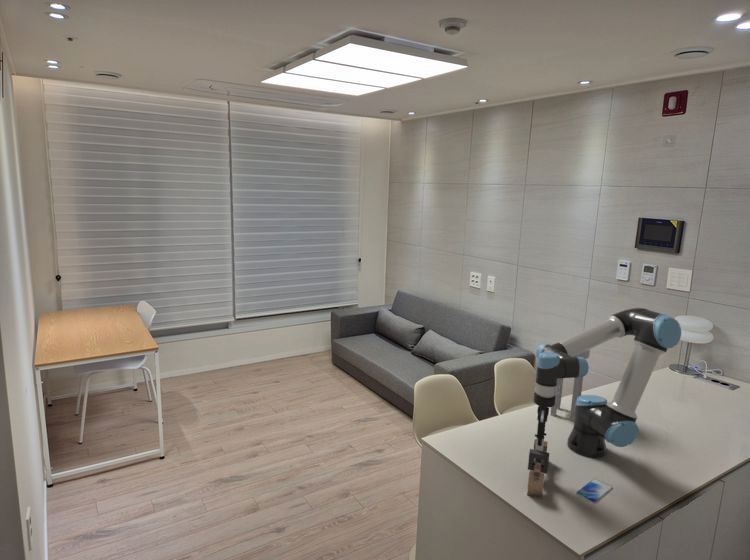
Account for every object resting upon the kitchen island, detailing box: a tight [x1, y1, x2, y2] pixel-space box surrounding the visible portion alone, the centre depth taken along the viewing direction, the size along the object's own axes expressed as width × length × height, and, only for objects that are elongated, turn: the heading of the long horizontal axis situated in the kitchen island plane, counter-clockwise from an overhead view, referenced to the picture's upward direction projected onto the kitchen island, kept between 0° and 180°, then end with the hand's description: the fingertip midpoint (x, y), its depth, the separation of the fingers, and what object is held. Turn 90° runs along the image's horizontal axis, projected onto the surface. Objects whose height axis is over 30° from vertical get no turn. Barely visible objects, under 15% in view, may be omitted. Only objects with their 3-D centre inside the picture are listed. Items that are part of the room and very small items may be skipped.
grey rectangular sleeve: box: [527, 448, 550, 475], centre depth 180 cm, size 7×3×7 cm, turn 68°
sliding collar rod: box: [526, 439, 549, 499], centre depth 182 cm, size 5×28×8 cm, turn 158°
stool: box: [549, 349, 591, 422], centre depth 233 cm, size 16×16×35 cm
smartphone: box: [575, 478, 613, 505], centre depth 175 cm, size 7×1×15 cm
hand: (538, 451), depth 182 cm, fingers closed
